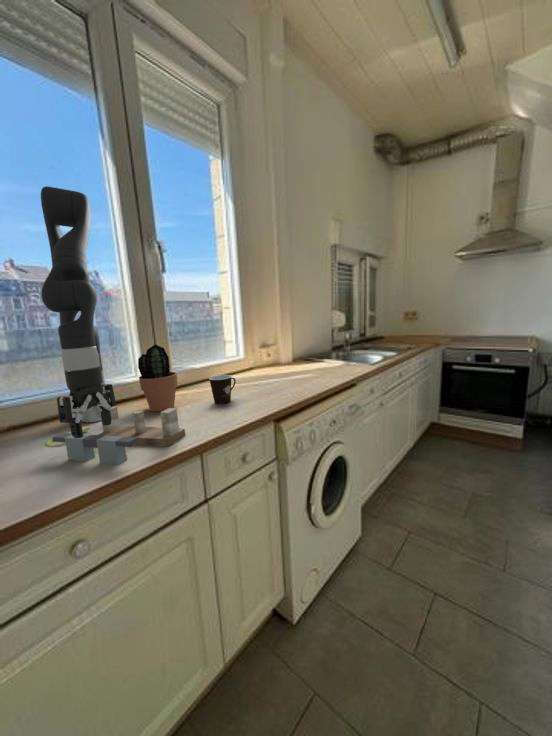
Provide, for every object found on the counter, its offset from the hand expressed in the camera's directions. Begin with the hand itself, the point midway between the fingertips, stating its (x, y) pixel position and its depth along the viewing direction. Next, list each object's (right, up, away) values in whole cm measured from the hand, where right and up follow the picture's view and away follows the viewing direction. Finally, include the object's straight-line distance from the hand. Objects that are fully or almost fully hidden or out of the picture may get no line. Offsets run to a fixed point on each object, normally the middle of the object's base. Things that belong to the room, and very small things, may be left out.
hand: (93, 431), depth 78 cm
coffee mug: (+25, +2, +48) cm, 55 cm away
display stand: (+6, -5, +14) cm, 16 cm away
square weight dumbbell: (0, -8, +1) cm, 8 cm away
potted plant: (+1, 0, +44) cm, 44 cm away
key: (-18, -7, +18) cm, 26 cm away
